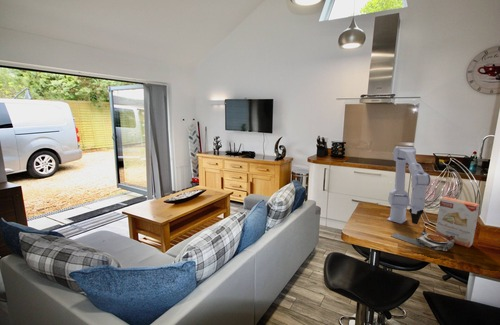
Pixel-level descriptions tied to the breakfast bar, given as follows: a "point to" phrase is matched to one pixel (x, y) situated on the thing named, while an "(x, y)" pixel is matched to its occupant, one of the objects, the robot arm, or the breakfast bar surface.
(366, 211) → the breakfast bar surface
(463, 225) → the cracker box
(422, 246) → the gray flat rectangular plate
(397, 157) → the robot arm
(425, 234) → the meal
